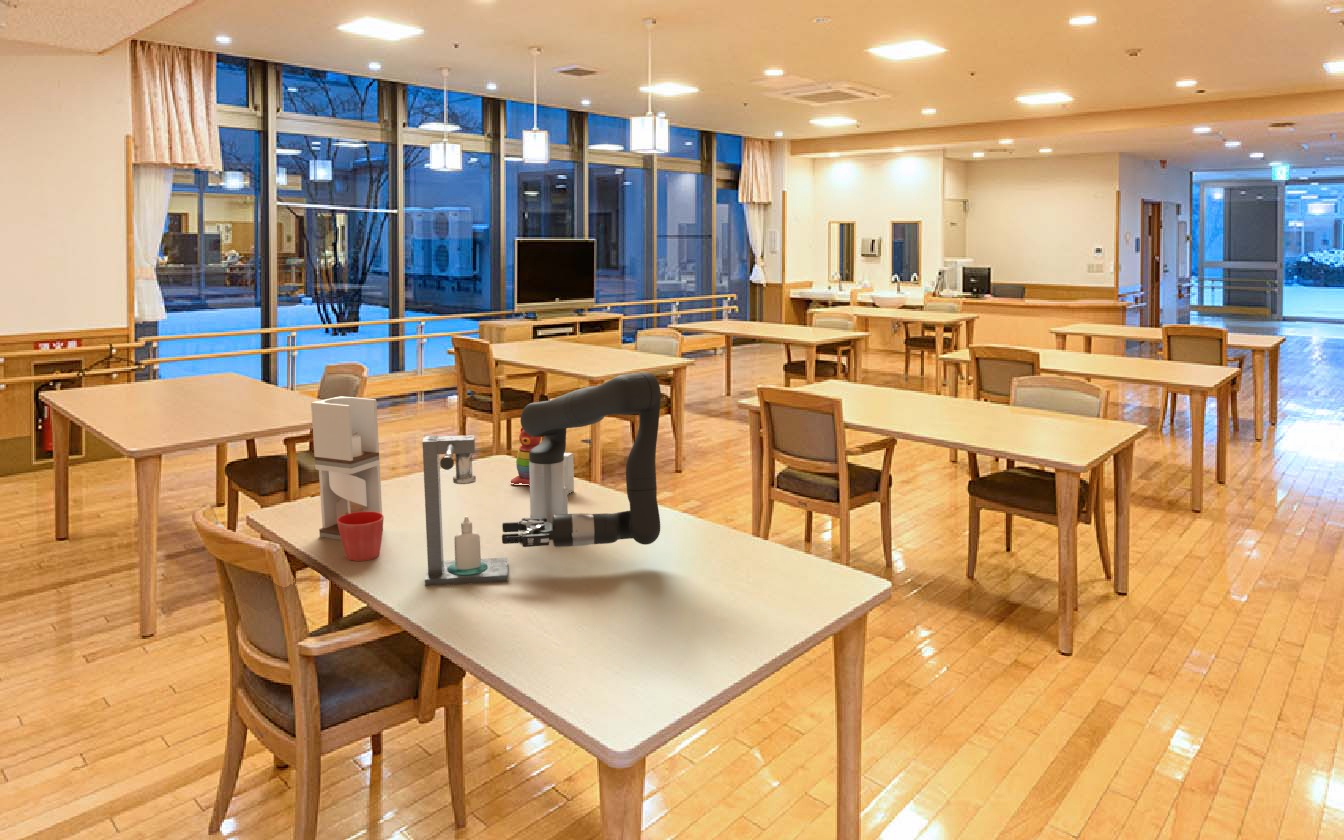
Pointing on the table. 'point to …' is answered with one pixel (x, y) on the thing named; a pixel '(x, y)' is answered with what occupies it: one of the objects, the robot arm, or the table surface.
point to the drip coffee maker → (346, 458)
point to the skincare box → (568, 472)
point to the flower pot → (361, 534)
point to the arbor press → (437, 567)
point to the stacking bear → (524, 457)
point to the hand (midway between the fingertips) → (502, 533)
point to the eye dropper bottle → (467, 547)
